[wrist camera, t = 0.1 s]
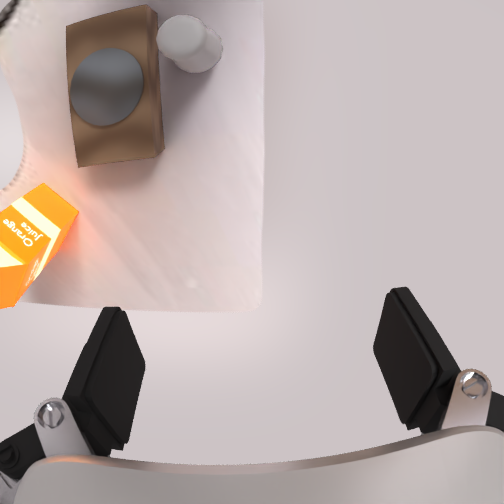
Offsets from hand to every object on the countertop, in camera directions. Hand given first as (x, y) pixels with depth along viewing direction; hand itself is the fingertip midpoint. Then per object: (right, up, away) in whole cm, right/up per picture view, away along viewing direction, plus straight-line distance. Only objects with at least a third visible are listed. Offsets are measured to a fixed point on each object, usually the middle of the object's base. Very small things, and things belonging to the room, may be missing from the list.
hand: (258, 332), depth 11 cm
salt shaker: (-6, +26, +21) cm, 34 cm away
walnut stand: (-16, +23, +22) cm, 36 cm away
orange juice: (-31, +8, +30) cm, 44 cm away
